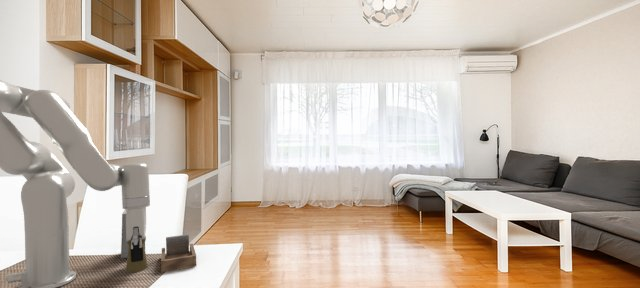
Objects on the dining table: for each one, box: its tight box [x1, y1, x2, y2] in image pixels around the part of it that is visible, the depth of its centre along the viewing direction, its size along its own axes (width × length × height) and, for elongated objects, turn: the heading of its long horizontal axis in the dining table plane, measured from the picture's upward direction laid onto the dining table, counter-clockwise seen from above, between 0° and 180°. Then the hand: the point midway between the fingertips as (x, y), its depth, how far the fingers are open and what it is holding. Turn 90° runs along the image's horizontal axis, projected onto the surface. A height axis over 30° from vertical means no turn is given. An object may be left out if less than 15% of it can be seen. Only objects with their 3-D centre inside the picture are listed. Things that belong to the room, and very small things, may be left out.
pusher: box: [165, 234, 190, 256], centre depth 111 cm, size 7×1×6 cm, turn 116°
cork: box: [125, 235, 149, 273], centre depth 100 cm, size 6×6×11 cm
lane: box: [160, 243, 197, 273], centre depth 106 cm, size 10×14×3 cm
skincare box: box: [120, 209, 129, 259], centre depth 114 cm, size 8×7×16 cm
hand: (138, 256), depth 101 cm, fingers open, 9 cm apart
